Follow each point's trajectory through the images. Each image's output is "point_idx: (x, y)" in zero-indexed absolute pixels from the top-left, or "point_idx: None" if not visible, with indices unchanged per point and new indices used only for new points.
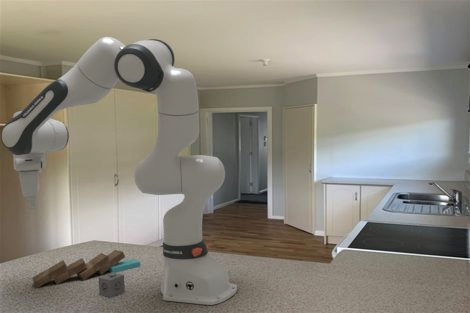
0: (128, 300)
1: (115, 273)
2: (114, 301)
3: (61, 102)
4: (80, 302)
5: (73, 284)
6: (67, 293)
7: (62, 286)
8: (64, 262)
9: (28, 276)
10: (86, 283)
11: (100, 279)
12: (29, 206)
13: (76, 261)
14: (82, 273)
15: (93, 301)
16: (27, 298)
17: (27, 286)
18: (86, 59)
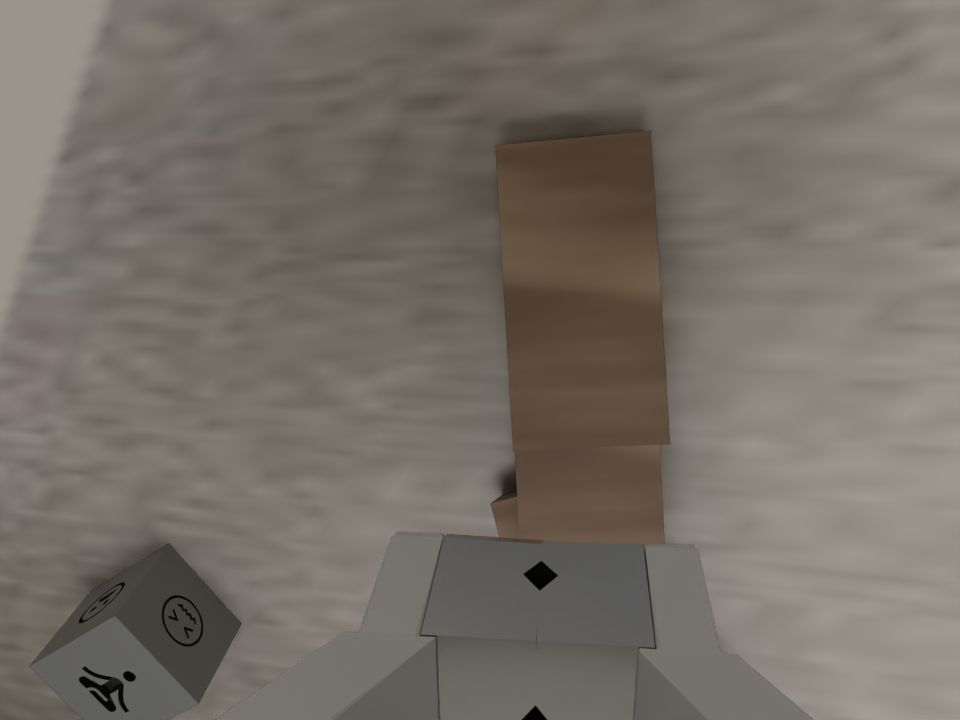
0: (14, 655)
1: (162, 715)
2: (22, 595)
3: None
4: (69, 432)
5: (449, 421)
6: (269, 371)
7: (443, 347)
8: (571, 447)
9: (925, 67)
10: (425, 501)
11: (107, 617)
12: (387, 569)
13: (651, 530)
14: (497, 517)
15: (60, 499)
16: (284, 95)
17: (599, 77)
18: None
